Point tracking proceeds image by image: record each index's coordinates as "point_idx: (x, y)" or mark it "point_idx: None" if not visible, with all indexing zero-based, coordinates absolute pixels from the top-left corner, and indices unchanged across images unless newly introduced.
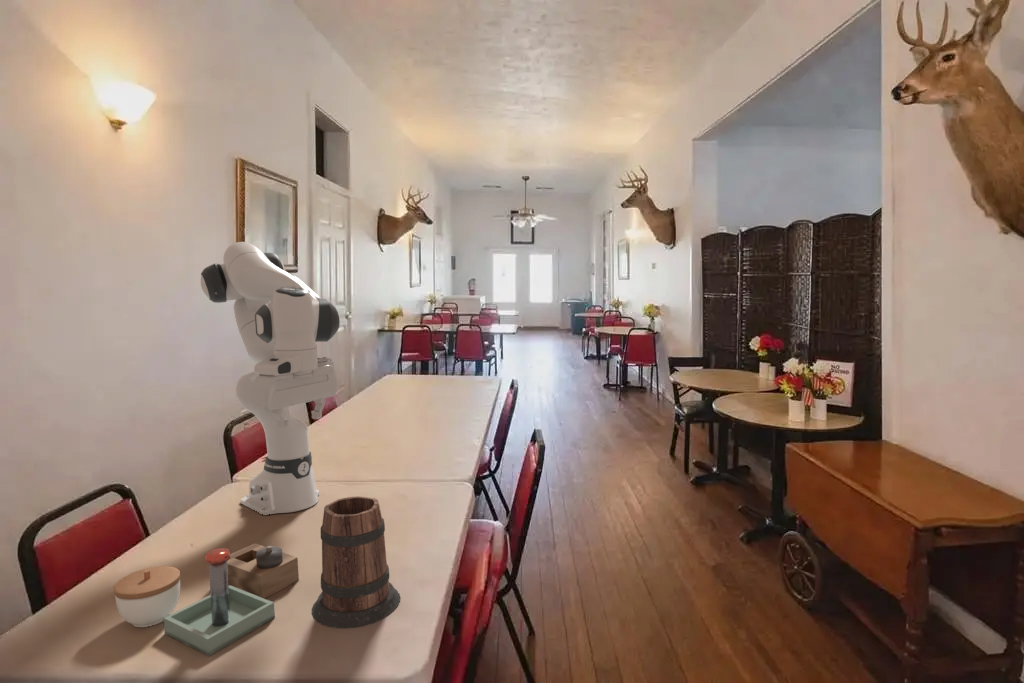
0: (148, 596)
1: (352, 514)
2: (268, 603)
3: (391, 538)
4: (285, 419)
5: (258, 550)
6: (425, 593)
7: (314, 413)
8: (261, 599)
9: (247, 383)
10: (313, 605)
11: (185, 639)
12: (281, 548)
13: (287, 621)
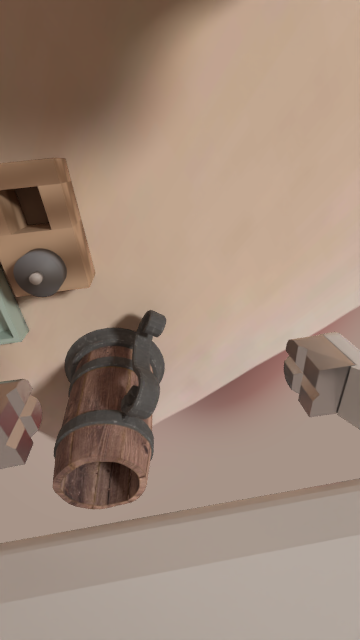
0: None
1: (82, 503)
2: (14, 339)
3: (265, 273)
4: (10, 456)
5: (46, 202)
6: (175, 399)
7: (309, 381)
8: (10, 324)
9: None
10: (77, 341)
11: None
12: (61, 281)
13: (38, 346)
